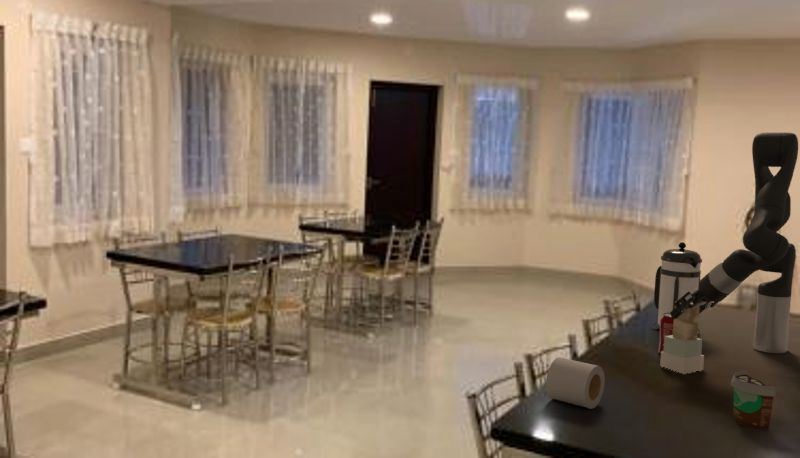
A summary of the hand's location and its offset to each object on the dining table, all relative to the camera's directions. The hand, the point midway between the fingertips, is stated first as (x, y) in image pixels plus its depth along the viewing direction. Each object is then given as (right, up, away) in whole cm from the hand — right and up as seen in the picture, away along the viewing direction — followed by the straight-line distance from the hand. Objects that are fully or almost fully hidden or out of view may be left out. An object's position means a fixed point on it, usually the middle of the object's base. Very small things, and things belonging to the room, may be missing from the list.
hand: (682, 315), depth 218 cm
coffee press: (+13, -10, +45) cm, 48 cm away
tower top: (0, -11, 0) cm, 11 cm away
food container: (-1, -20, -40) cm, 45 cm away
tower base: (0, -15, +1) cm, 15 cm away
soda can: (+2, -14, +16) cm, 21 cm away
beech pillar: (0, -6, 0) cm, 6 cm away
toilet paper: (-37, -18, -31) cm, 51 cm away
